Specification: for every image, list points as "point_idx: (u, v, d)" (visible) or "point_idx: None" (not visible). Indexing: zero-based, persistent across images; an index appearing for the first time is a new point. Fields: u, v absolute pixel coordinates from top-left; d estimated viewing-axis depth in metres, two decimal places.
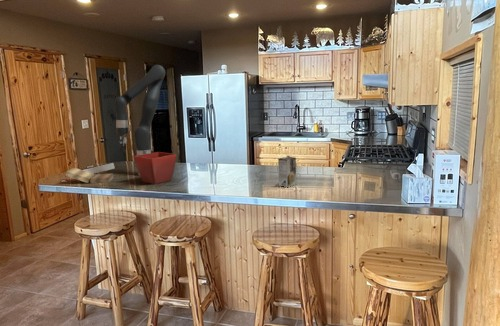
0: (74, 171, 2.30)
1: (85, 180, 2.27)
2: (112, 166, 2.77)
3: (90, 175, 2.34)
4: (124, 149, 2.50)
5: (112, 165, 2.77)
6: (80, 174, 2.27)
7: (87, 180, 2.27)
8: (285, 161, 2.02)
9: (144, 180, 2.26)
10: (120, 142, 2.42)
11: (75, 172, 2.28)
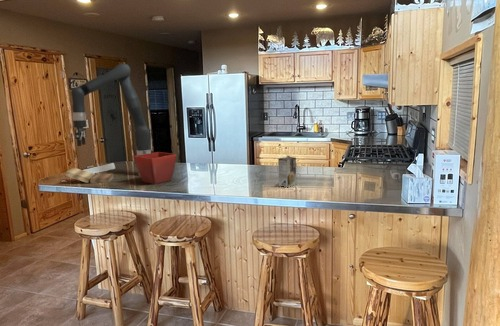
0: (74, 171, 2.30)
1: (85, 180, 2.27)
2: (112, 166, 2.77)
3: (90, 175, 2.34)
4: (83, 143, 2.36)
5: (112, 165, 2.77)
6: (80, 174, 2.27)
7: (87, 180, 2.27)
8: (285, 161, 2.02)
9: (144, 180, 2.26)
10: (77, 136, 2.27)
11: (75, 172, 2.28)
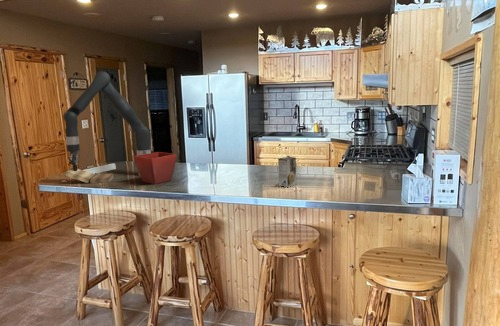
0: (74, 171, 2.30)
1: (85, 180, 2.27)
2: (113, 166, 2.76)
3: (90, 175, 2.34)
4: None
5: (113, 165, 2.76)
6: (80, 174, 2.27)
7: (87, 180, 2.27)
8: (285, 161, 2.02)
9: (144, 180, 2.26)
10: None
11: (75, 172, 2.28)
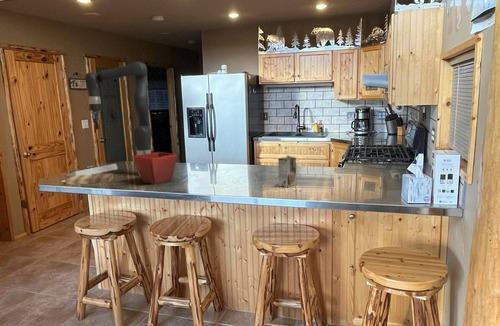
0: (73, 178, 2.31)
1: (86, 181, 2.27)
2: (115, 167, 2.74)
3: (90, 176, 2.34)
4: (97, 128, 2.47)
5: (115, 166, 2.74)
6: (79, 178, 2.28)
7: (88, 180, 2.27)
8: (285, 161, 2.02)
9: (144, 180, 2.26)
10: (94, 120, 2.44)
11: (74, 178, 2.29)
